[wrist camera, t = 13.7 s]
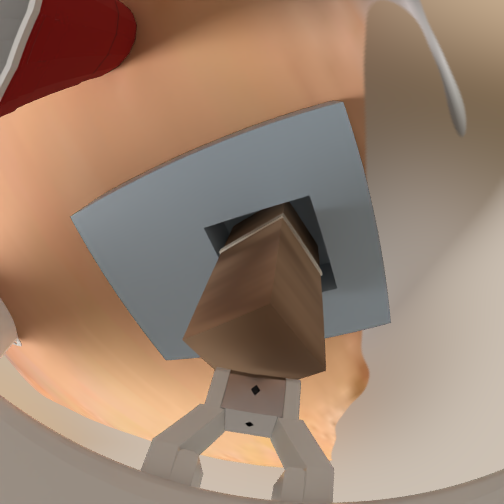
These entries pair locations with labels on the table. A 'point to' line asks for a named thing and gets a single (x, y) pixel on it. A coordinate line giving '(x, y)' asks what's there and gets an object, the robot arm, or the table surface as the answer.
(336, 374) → the table surface
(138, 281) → the socket board
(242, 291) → the walnut peg
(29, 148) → the table surface
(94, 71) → the plastic cup
